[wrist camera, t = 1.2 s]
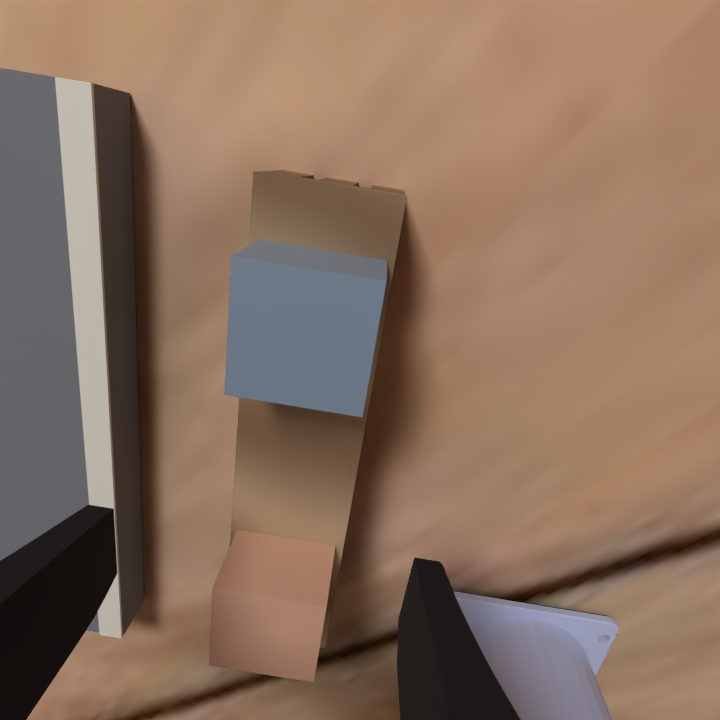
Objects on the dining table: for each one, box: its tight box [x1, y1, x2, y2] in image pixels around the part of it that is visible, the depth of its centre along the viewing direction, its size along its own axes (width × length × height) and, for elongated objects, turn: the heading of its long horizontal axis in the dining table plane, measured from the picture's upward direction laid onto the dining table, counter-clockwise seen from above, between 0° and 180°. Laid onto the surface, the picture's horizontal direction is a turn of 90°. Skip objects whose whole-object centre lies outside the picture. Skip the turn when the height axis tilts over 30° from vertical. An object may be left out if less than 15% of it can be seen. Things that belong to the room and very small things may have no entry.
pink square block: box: [209, 530, 335, 682], centre depth 16 cm, size 4×4×2 cm
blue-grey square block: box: [225, 240, 387, 417], centre depth 13 cm, size 4×4×2 cm
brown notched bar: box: [230, 170, 407, 648], centre depth 17 cm, size 17×4×4 cm, turn 171°
